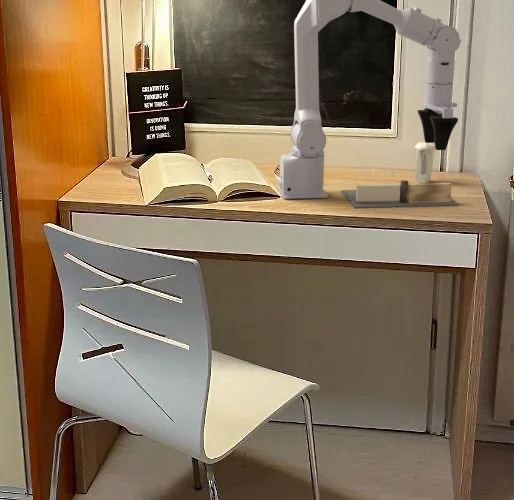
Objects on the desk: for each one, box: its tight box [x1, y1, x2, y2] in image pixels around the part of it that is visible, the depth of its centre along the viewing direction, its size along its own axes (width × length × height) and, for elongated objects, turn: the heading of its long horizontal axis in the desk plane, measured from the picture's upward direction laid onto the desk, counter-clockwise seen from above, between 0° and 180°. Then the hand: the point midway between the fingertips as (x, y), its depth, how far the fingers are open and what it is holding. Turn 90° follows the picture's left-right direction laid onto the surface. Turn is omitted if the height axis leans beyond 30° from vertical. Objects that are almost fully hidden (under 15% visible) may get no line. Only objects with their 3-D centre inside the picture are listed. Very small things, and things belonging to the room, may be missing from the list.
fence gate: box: [355, 183, 401, 201], centre depth 187 cm, size 9×1×3 cm, turn 97°
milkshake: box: [414, 141, 436, 183], centre depth 205 cm, size 5×5×10 cm
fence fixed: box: [399, 179, 453, 203], centre depth 188 cm, size 11×2×4 cm, turn 97°
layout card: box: [340, 189, 460, 209], centre depth 192 cm, size 22×14×1 cm, turn 97°
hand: (435, 146), depth 195 cm, fingers open, 7 cm apart
